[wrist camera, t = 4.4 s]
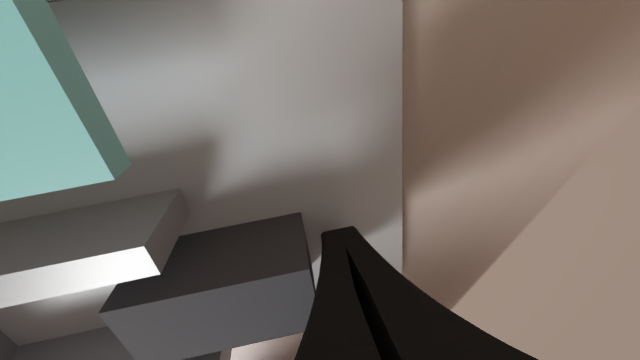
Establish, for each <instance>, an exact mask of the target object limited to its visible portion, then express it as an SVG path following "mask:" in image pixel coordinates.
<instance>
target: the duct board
mask: <svg viewBox="0 0 640 360" xmlns="http://www.w3.org/2000/svg"><path fill="white" fill-rule="evenodd" d="M48 4H49V6H50V8H51V10H52V12H53V14H54V16H55V18H56V20H57V22H58V24H59V25H60V27H61V29H62V31H63V33H64V35H65V37H66V39H67V41H68V43H69V45H70V47H71V48H72V50H73V52H74V54H75V56H76V58H77V60H78V62H79V64H80V66H81V68H82V70H83V71H84V73H85V75H86V77H87V79H88V81H89V83H90V85H91V87H92V89H93V91H94V93H95V94H96V96H97V98H98V100H99V102H100V104H101V106H102V108H103V110H104V112H105V114H106V116H107V117H108V119H109V121H110V123H111V125H112V127H113V129H114V131H115V133H116V135H117V137H118V139H119V140H120V142H121V144H122V146H123V148H124V150H125V152H126V154H127V156H128V158H129V160H130V162H131V163H132V165H131V166H130V167H129V168H127V169H126V170H125V171H124V172H123V173H122V174H121V175H120V176H118V177H117V178H116V179H115V180H111V181H106V182H101V183H95V184H90V185H85V186H79V187H74V188H69V189H64V190H58V191H53V192H48V193H42V194H37V195H32V196H27V197H21V198H16V199H11V200H5V201H0V360H135V359H134V358H133V357H132V355H131V354H130V353H129V352H128V350H127V349H126V348H125V347H124V346H123V344H122V343H121V342H120V341H119V339H118V338H117V337H116V336H115V334H114V333H113V332H112V331H111V329H110V328H109V327H108V326H107V325H106V323H105V322H104V321H103V320H102V318H101V317H100V316H99V315H98V313H99V311H100V309H101V308H102V306H103V305H104V303H105V302H106V300H107V299H108V297H109V295H110V294H111V292H112V291H113V289H114V288H115V286H116V284H118V283H122V282H127V281H132V280H136V279H141V278H146V277H151V276H155V275H160V274H161V273H162V271H163V269H164V266H165V264H166V262H167V260H168V258H169V256H170V254H171V252H172V250H173V248H174V245H175V243H176V241H177V239H178V237H179V236H182V235H187V234H192V233H197V232H202V231H207V230H212V229H217V228H222V227H227V226H232V225H237V224H242V223H247V222H252V221H257V220H262V219H268V218H273V217H278V216H283V215H288V214H293V213H298V212H301V215H302V220H303V224H304V229H305V234H306V239H307V244H308V249H309V254H310V258H311V263H312V269H313V275H314V282H315V288H316V287H317V282H318V277H319V271H320V263H321V253H322V241H321V234H322V233H323V232H325V231H330V230H335V229H339V228H344V227H349V226H354V227H356V229H357V230H358V231H359V232H360V234H361V235H362V236H363V237H364V238H365V239H366V240H367V241H368V243H369V244H370V245H371V246H372V247H373V248H374V249H375V250H376V251H377V252H378V253H379V254H380V255H381V256H382V257H383V258H384V259H385V260H386V261H387V262H388V263H390V264H391V265H392V266H393V267H394V268H395V269H396V270H397V271H398V272H400V273H401V274H402V169H403V0H61V1H54V2H48ZM231 350H232V348H231V349H227V350H222V351H218V352H213V353H209V354H204V355H200V356H195V357H191V358H187V359H182V360H230V357H231Z"/></svg>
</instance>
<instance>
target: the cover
mask: <svg viewBox="0 0 640 360" xmlns="http://www.w3.org/2000/svg"><path fill="white" fill-rule="evenodd" d="M131 165H132V163H131V162H130V160H129V158H128V156H127V154H126V152H125V150H124V148H123V146H122V144H121V142H120V140H119V139H118V137H117V135H116V133H115V131H114V129H113V127H112V125H111V123H110V121H109V119H108V117H107V116H106V114H105V112H104V110H103V108H102V106H101V104H100V102H99V100H98V98H97V96H96V94H95V93H94V91H93V89H92V87H91V85H90V83H89V81H88V79H87V77H86V75H85V73H84V71H83V70H82V68H81V66H80V64H79V62H78V60H77V58H76V56H75V54H74V52H73V50H72V48H71V47H70V45H69V43H68V41H67V39H66V37H65V35H64V33H63V31H62V29H61V27H60V25H59V24H58V22H57V20H56V18H55V16H54V14H53V12H52V10H51V8H50V6H49V4H48V2H47V0H0V201H5V200H11V199H16V198H21V197H27V196H32V195H37V194H42V193H48V192H53V191H58V190H64V189H69V188H74V187H79V186H85V185H90V184H95V183H101V182H106V181H111V180H115V179H116V178H117V177H118V176H120V175H121V174H122V173H123V172H124V171H125V170H126V169H127V168H129V167H130V166H131Z"/></svg>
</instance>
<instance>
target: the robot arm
mask: <svg viewBox="0 0 640 360" xmlns="http://www.w3.org/2000/svg"><path fill="white" fill-rule="evenodd" d="M321 241H322V253H321V263H320V271H319V277H318V282H317V287H316V292H315V297H314V301H313V305H312V308H311V312H310V315H309V319H308V322H307V325H306V329H305V331H304V334H303V337H302V340H301V343H300V346H299V349H298V351H297V354H296V357H295V359H294V360H538V359H536V358H534V357H532V356H530V355H528V354H526V353H524V352H522V351H520V350H518V349H516V348H513V347H512V346H510V345H508V344H506V343H504V342H502V341H500V340H499V339H497V338H495V337H493V336H492V335H490V334H488V333H486V332H484V331H483V330H481V329H479V328H478V327H476V326H475V325H473V324H471V323H470V322H468V321H466V320H465V319H463V318H462V317H460V316H458V315H457V314H455V313H453V312H452V311H450V310H449V309H447V308H446V307H444V306H443V305H441V304H440V303H439V302H437V301H436V300H434V299H433V298H431V297H430V296H429V295H427V294H426V293H425V292H423V291H422V290H420V289H419V288H418V287H417V286H415V285H414V284H413V283H412V282H410V281H409V280H408V279H407V278H406V277H404V276H403V275H402V274H401V273H400V272H398V271H397V270H396V269H395V268H394V267H393V266H392V265H391V264H390V263H388V262H387V261H386V260H385V259H384V258H383V257H382V256H381V255H380V254H379V253H378V252H377V251H376V250H375V249H374V248H373V247H372V246H371V245H370V244H369V243H368V241H367V240H366V239H365V238H364V237H363V236H362V235H361V234H360V232H359V231H358V230H357V229H356V227H354V226H349V227H344V228H339V229H335V230H330V231H325V232H323V233H322V234H321Z"/></svg>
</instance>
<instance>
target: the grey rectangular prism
mask: <svg viewBox="0 0 640 360" xmlns="http://www.w3.org/2000/svg"><path fill="white" fill-rule="evenodd" d="M315 292H316V288H315V282H314V275H313V269H312V263H311V258H310V254H309V249H308V244H307V239H306V234H305V229H304V224H303V220H302V215H301V212H298V213H293V214H288V215H283V216H278V217H273V218H268V219H262V220H257V221H252V222H247V223H242V224H237V225H232V226H227V227H222V228H217V229H212V230H207V231H202V232H197V233H192V234H187V235H182V236H179V237H178V239H177V241H176V243H175V245H174V248H173V250H172V252H171V254H170V256H169V258H168V260H167V262H166V264H165V266H164V269H163V271H162V273H161V274H160V275H155V276H151V277H146V278H141V279H136V280H132V281H127V282H122V283H118V284H116V286H115V288H114V289H113V291H112V292H111V294H110V295H109V297H108V299H107V300H106V302H105V303H104V305H103V306H102V308H101V309H100V311H99V313H98V315H99V316H100V317H101V318H102V320H103V321H104V322H105V323H106V325H107V326H108V327H109V328H110V329H111V331H112V332H113V333H114V334H115V336H116V337H117V338H118V339H119V341H120V342H121V343H122V344H123V346H124V347H125V348H126V349H127V350H128V352H129V353H130V354H131V355H132V357H133V358H134V359H135V360H182V359H187V358H191V357H195V356H200V355H204V354H209V353H213V352H218V351H222V350H227V349H231V348H235V347H240V346H244V345H249V344H253V343H258V342H262V341H267V340H271V339H275V338H280V337H284V336H289V335H293V334H298V333H302V332H304V331H305V329H306V325H307V322H308V319H309V315H310V312H311V308H312V305H313V301H314V297H315Z"/></svg>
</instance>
